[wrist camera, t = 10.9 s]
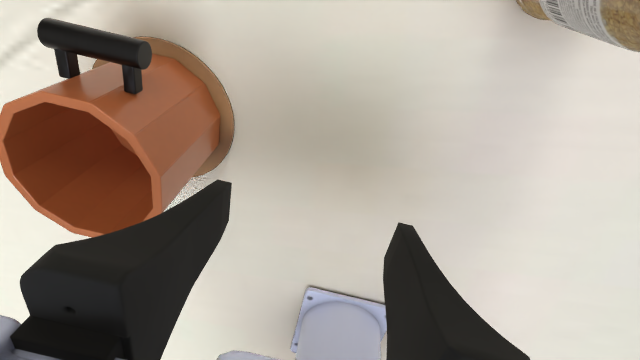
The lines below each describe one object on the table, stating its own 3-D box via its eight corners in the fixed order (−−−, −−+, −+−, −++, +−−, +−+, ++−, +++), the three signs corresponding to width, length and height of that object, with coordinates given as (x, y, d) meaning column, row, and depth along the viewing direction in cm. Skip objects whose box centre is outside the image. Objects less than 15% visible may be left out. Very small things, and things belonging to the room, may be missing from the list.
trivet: (229, 190, 27) (228, 191, 27) (101, 159, 27) (99, 161, 27) (239, 57, 22) (238, 58, 22) (79, 19, 22) (77, 20, 22)
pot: (217, 179, 27) (164, 255, 20) (108, 153, 27) (18, 220, 20) (225, 29, 21) (154, 64, 14) (87, -3, 21) (-49, 15, 14)
